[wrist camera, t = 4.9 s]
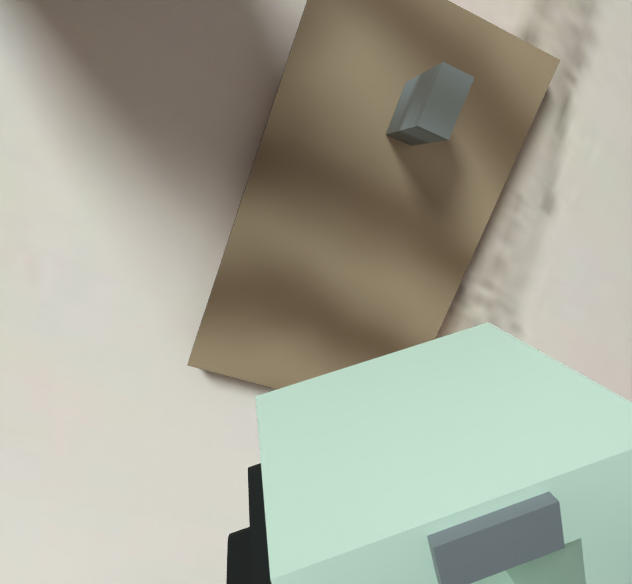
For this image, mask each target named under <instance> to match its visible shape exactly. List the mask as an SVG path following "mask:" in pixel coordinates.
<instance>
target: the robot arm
mask: <svg viewBox="0 0 632 584" xmlns="http://www.w3.org/2000/svg"><path fill="white" fill-rule="evenodd" d="M248 488H249V518H250V527H248V528H245V529H242V530H239V531H237V532H234V533H231V534H229V537H228V552H227V584H272V583H271V580H270V569H269V556H268V544H267V532H266V519H265V507H264V495H263V482H262V470H261V463H260V464H257V465H254V466H251V467H249V468H248Z"/></svg>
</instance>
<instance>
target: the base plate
mask: <svg viewBox="0 0 632 584" xmlns="http://www.w3.org/2000/svg"><path fill="white" fill-rule="evenodd" d="M559 62H560V60H559V59H557V58H555V57H553V56H551V55H550V54H548V53H546V52H544V51H542V50H540V49H538V48H536V47H535V46H533V45H531V44H529V43H527V42H525V41H523V40H521V39H520V38H518V37H516V36H514V35H512V34H510V33H508V32H506V31H504V30H503V29H501V28H499V27H497V26H495V25H493V24H491V23H489V22H488V21H486V20H484V19H482V18H480V17H478V16H476V15H474V14H473V13H471V12H469V11H467V10H465V9H463V8H461V7H459V6H457V5H456V4H454V3H452V2H450V1H448V0H307V3H306V6H305V9H304V12H303V15H302V18H301V21H300V24H299V27H298V30H297V33H296V36H295V39H294V42H293V45H292V48H291V51H290V54H289V57H288V60H287V63H286V66H285V69H284V72H283V75H282V78H281V81H280V85H279V88H278V91H277V94H276V97H275V100H274V103H273V106H272V109H271V112H270V115H269V118H268V121H267V124H266V127H265V130H264V133H263V136H262V139H261V142H260V145H259V148H258V151H257V154H256V157H255V160H254V163H253V167H252V170H251V173H250V176H249V179H248V182H247V185H246V188H245V191H244V194H243V197H242V200H241V203H240V206H239V209H238V212H237V215H236V218H235V221H234V224H233V227H232V230H231V233H230V236H229V239H228V242H227V245H226V249H225V252H224V255H223V258H222V261H221V264H220V267H219V270H218V273H217V276H216V279H215V282H214V285H213V288H212V291H211V294H210V297H209V300H208V303H207V306H206V309H205V312H204V315H203V318H202V321H201V324H200V327H199V331H198V334H197V337H196V340H195V343H194V346H193V349H192V352H191V355H190V358H189V361H188V366H192V367H196V368H199V369H203V370H207V371H211V372H214V373H218V374H222V375H226V376H229V377H233V378H237V379H241V380H244V381H248V382H252V383H256V384H259V385H263V386H267V387H271V388H274V389H280V388H283V387H286V386H290V385H293V384H296V383H299V382H302V381H305V380H308V379H312V378H315V377H318V376H321V375H324V374H327V373H330V372H334V371H337V370H340V369H343V368H346V367H349V366H352V365H356V364H359V363H362V362H365V361H368V360H371V359H375V358H378V357H381V356H384V355H387V354H390V353H393V352H397V351H400V350H403V349H406V348H409V347H412V346H415V345H419V344H422V343H425V342H428V341H431V340H434V339H436V336H437V334H438V332H439V330H440V327H441V325H442V323H443V321H444V318H445V316H446V314H447V312H448V309H449V307H450V305H451V303H452V301H453V298H454V296H455V294H456V292H457V289H458V287H459V285H460V283H461V280H462V278H463V276H464V274H465V272H466V269H467V267H468V265H469V263H470V260H471V258H472V256H473V254H474V251H475V249H476V247H477V245H478V242H479V240H480V238H481V236H482V234H483V231H484V229H485V227H486V225H487V222H488V220H489V218H490V216H491V213H492V211H493V209H494V207H495V205H496V202H497V200H498V198H499V196H500V193H501V191H502V189H503V187H504V184H505V182H506V180H507V178H508V176H509V173H510V171H511V169H512V167H513V164H514V162H515V160H516V158H517V155H518V153H519V151H520V149H521V146H522V144H523V142H524V140H525V138H526V135H527V133H528V131H529V129H530V126H531V124H532V122H533V120H534V117H535V115H536V113H537V111H538V109H539V106H540V104H541V102H542V100H543V97H544V95H545V93H546V91H547V88H548V86H549V84H550V82H551V79H552V77H553V75H554V73H555V71H556V68H557V66H558V64H559Z"/></svg>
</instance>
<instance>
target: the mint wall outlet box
mask: <svg viewBox="0 0 632 584" xmlns="http://www.w3.org/2000/svg"><path fill="white" fill-rule="evenodd" d="M256 408H257V421H258V433H259V445H260V458H261V470H262V482H263V495H264V507H265V519H266V532H267V544H268V556H269V569H270V580H271V583H272V584H632V402H630V401H628V400H627V399H625V398H623V397H621V396H619V395H618V394H616V393H614V392H612V391H610V390H609V389H607V388H605V387H603V386H601V385H600V384H598V383H596V382H594V381H592V380H591V379H589V378H587V377H585V376H584V375H582V374H580V373H578V372H576V371H575V370H573V369H571V368H569V367H567V366H566V365H564V364H562V363H560V362H558V361H557V360H555V359H553V358H551V357H549V356H548V355H546V354H544V353H542V352H540V351H539V350H537V349H535V348H533V347H532V346H530V345H528V344H526V343H524V342H523V341H521V340H519V339H517V338H515V337H514V336H512V335H510V334H508V333H506V332H505V331H503V330H501V329H499V328H497V327H496V326H494V325H492V324H490V323H485V324H482V325H478V326H475V327H472V328H469V329H466V330H463V331H460V332H456V333H453V334H450V335H447V336H444V337H441V338H438V339H434V340H431V341H428V342H425V343H422V344H419V345H415V346H412V347H409V348H406V349H403V350H400V351H397V352H393V353H390V354H387V355H384V356H381V357H378V358H375V359H371V360H368V361H365V362H362V363H359V364H356V365H352V366H349V367H346V368H343V369H340V370H337V371H334V372H330V373H327V374H324V375H321V376H318V377H315V378H312V379H308V380H305V381H302V382H299V383H296V384H293V385H290V386H286V387H283V388H280V389H277V390H274V391H271V392H267V393H264V394H261V395H258V396H256Z"/></svg>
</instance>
